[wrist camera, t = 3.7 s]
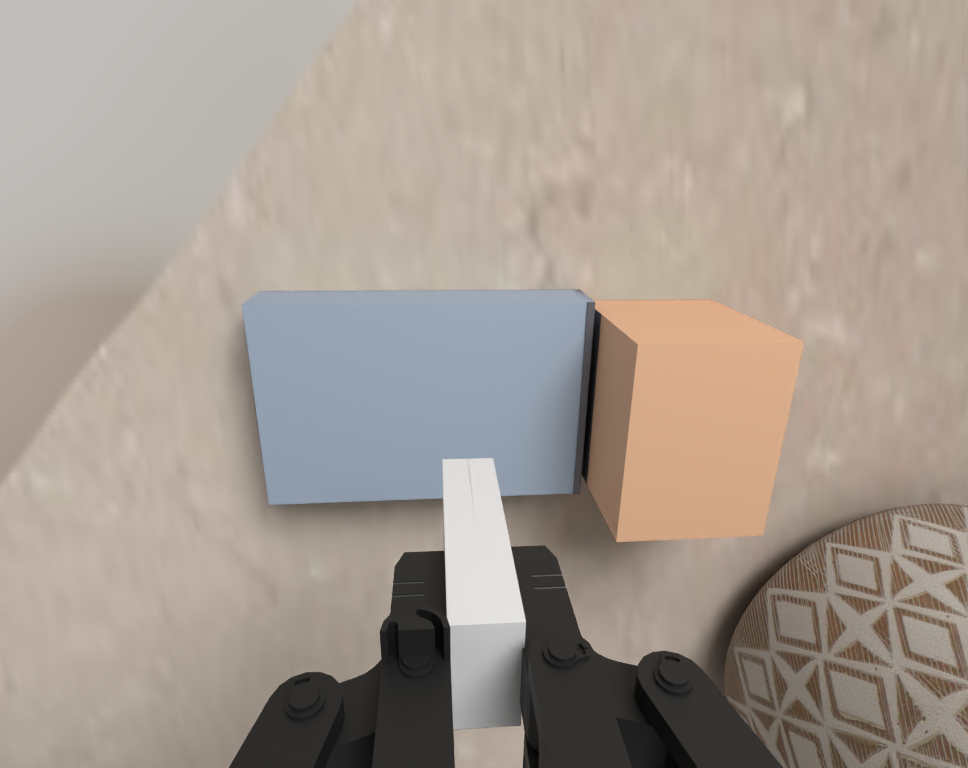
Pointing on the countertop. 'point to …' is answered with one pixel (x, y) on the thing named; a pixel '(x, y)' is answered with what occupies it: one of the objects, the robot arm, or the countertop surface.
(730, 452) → the block
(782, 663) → the planter
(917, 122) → the countertop surface
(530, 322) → the blue-grey slab
